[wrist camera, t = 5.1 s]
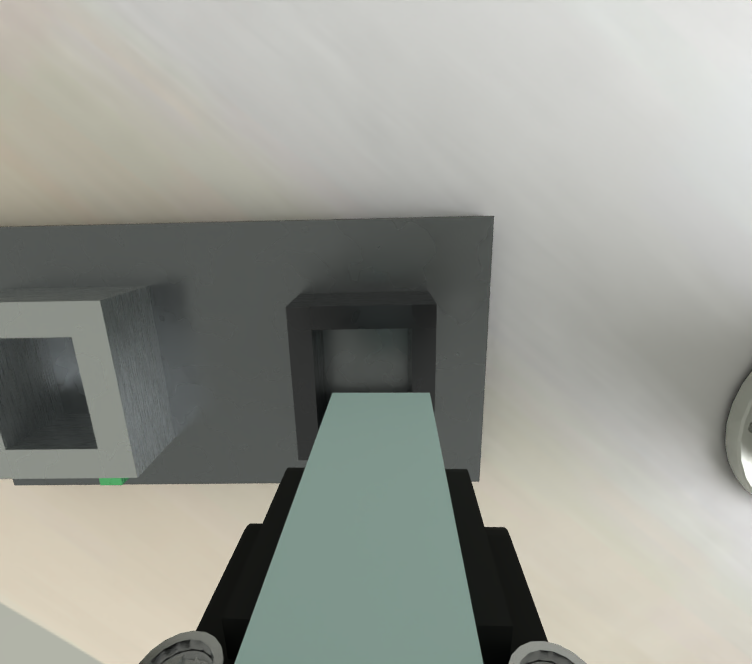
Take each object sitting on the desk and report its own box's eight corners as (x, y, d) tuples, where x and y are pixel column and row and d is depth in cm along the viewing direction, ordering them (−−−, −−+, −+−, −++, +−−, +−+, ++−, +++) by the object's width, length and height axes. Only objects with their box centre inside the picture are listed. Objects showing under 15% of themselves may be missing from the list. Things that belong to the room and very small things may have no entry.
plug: (429, 392, 12) (547, 993, 3) (428, 503, 13) (509, 1212, 4) (332, 392, 13) (126, 962, 3) (338, 502, 14) (202, 1182, 4)
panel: (485, 216, 20) (518, 215, 15) (473, 465, 24) (496, 528, 19) (-34, 227, 20) (-161, 231, 16) (36, 469, 24) (-50, 531, 19)
